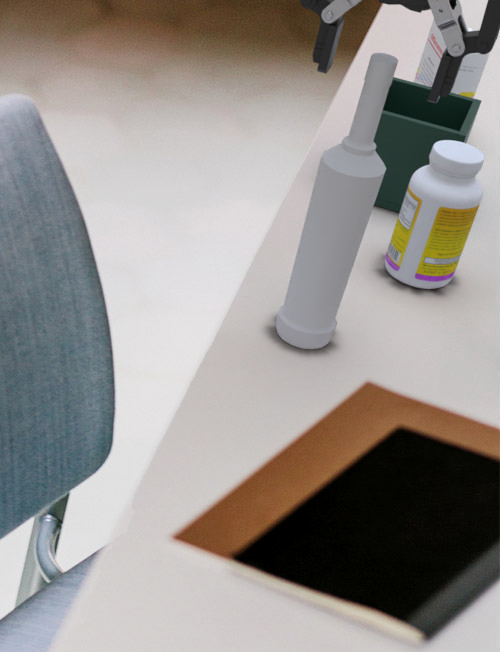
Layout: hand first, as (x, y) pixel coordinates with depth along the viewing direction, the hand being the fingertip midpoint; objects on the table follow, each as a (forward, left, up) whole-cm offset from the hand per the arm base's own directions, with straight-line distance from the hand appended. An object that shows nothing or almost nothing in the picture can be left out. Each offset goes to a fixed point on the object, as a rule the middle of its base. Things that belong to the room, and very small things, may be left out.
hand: (377, 84), depth 90 cm
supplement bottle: (-7, -17, -23) cm, 30 cm away
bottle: (0, 0, -23) cm, 23 cm away
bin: (-1, -34, -23) cm, 41 cm away
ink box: (-2, -51, -23) cm, 56 cm away
